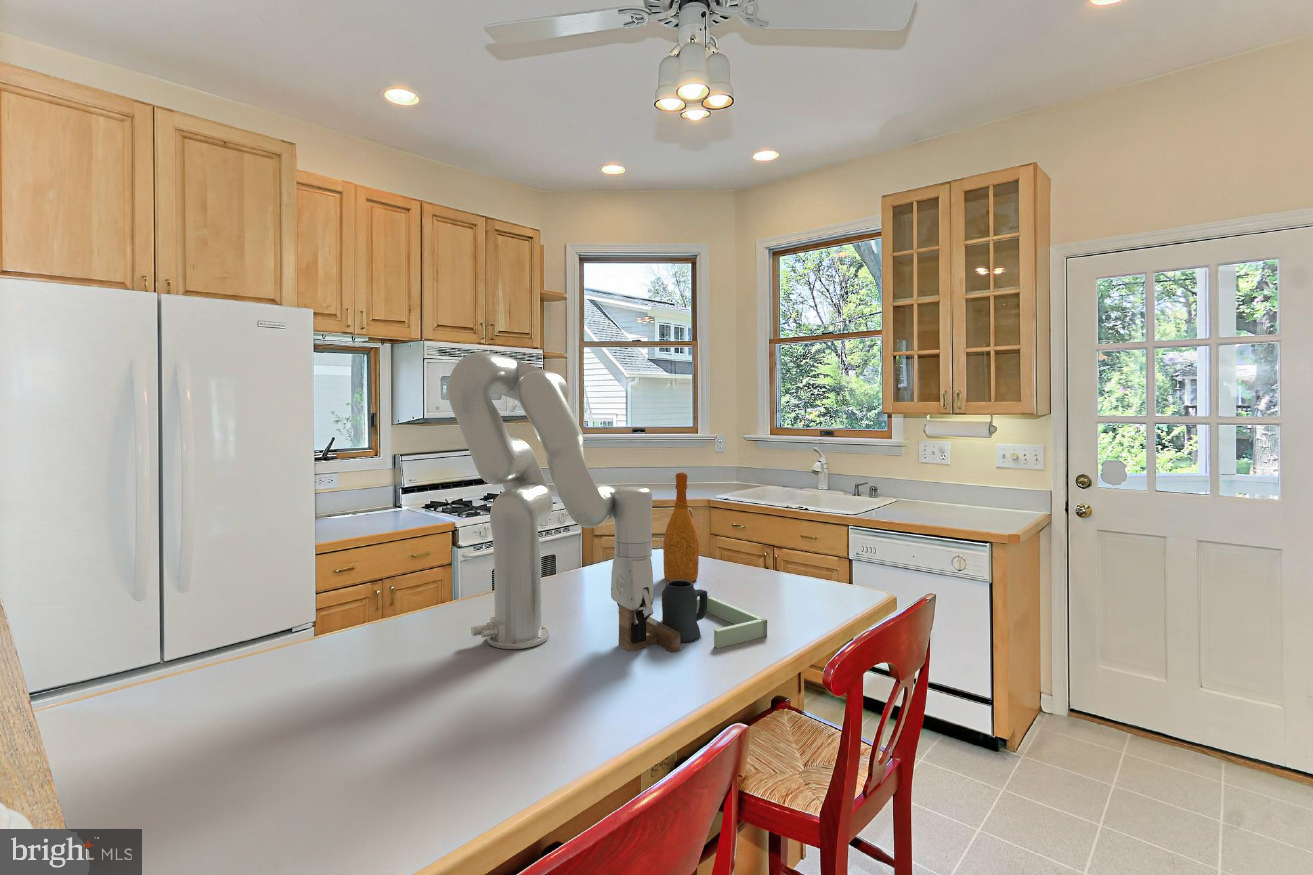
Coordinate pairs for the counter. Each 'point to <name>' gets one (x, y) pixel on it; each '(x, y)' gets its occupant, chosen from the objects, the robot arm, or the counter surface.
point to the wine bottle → (681, 538)
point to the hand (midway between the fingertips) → (632, 637)
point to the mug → (683, 609)
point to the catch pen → (744, 622)
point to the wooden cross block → (654, 632)
